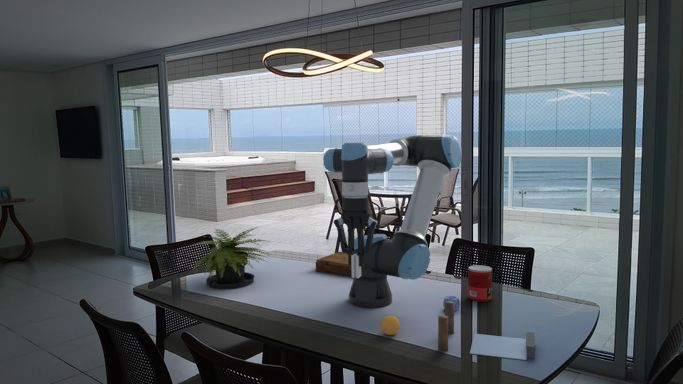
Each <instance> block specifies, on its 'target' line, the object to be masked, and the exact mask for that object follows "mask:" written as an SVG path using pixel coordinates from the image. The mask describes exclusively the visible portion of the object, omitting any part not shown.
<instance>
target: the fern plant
mask: <svg viewBox="0 0 683 384" xmlns="http://www.w3.org/2000/svg"><path fill="white" fill-rule="evenodd" d="M255 229H258V227H255V228H250V229H246V231H241V232H240V233H239V234H238V235H235V236H234V237H231V236H230V233H229V232H228V231H225V230H222V229H220V228H214V229H213V230H214V234H217V236H216V237H214V236H209V238H211V239H213V240H206V241H205V240H203V241H200V242H197V243H192V244H190V245H189V247H192V246H196V245H198V246H199V245H206V246H207V245H209V244H210V245H211V244H212V245H215V246H214V247H212V248H209V249H205V248H204V249H203V250H201V251H195V252H193V253H192V254H191V255H194V256H193V257H191V259H193V258H196V257H197V258H199V257H201V258H200V260H197V261H196V262H194V263H193V264H191V265H190V266H189V269H191V268H192V267H193V266H194V267H193V268H192V271H191V272H190V273H189V275H190V274H192V273H193V271H194V270H195V272H194V273H193V275H195V274H196V273H197V272H198V270H199V268H200V269H202V268H203V267H205V269H204V271H205V272H204V275H206V274H207V272H208V277H207V278H206V286H207V287H209V288H210V289H215V290H235V289H241V288H246V287H248V286H251V285H252V284H254V282H255V275H254V274H252V273H250V272H246V271H245V269H246V266H249V267H250V268H251V269H252V270H253V269H254V265H252V263H251V262H250V260H253V261H255V262H257V263H258V264H260V261H262V262H266V263H267V264H270V262H268V261H267V260H265V259H264V258H267V259H268V260H269V259H270V260H271V257H270V258H269V257H268V256H272V254H270V253H268V251H266V250H264V249H260V248H259V247H246V246H245V247H244V246H241V245H245V244H250V243H251V244H255V245H257V246H260V244H259V243H258V242H266V243H267V242H268V243H271V241H270V240H266V239H259V238H254V239H252V238H251V237H253V236H254V234H249V232H252V231H254V230H255ZM205 237H207V236H205V235H204V238H205ZM246 238H248V239H246ZM245 239H246V240H245ZM205 253H207V254H206V255H204V254H205ZM258 253H259V254H258ZM202 254H203V255H202ZM262 254H265V255H267V256H265V255H262ZM188 256H190V254H188V255H186V256H184V258H186V257H188ZM261 257H263V258H261ZM214 272H215V273H214Z"/></svg>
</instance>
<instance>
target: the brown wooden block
mask: <svg viewBox="0 0 683 384" xmlns="http://www.w3.org/2000/svg"><path fill="white" fill-rule="evenodd" d="M315 271H316V272H317V273H323V274H329V275H336V276H337V275H338V276H343V277H344V276H345V277H350V278H352V266H349V264H348V254H347V253H343V252H342V251H337V252H334V253H331V254H328V255H327V256H324V257H321V258H318V259H316V261H315Z"/></svg>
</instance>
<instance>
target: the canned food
mask: <svg viewBox="0 0 683 384" xmlns="http://www.w3.org/2000/svg"><path fill="white" fill-rule="evenodd" d="M467 273H468V274H467V288H468V289H467V296H468V299H469V300H471V301H473V302H479V303H480V302H481V303H483V302H486V303H487V302H490V301H491V300H492V297H493V295H492V293H493V292H492V291H493V268H492V267H491V266H487V265H480V264H474V265H470V266H468V271H467Z"/></svg>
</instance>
